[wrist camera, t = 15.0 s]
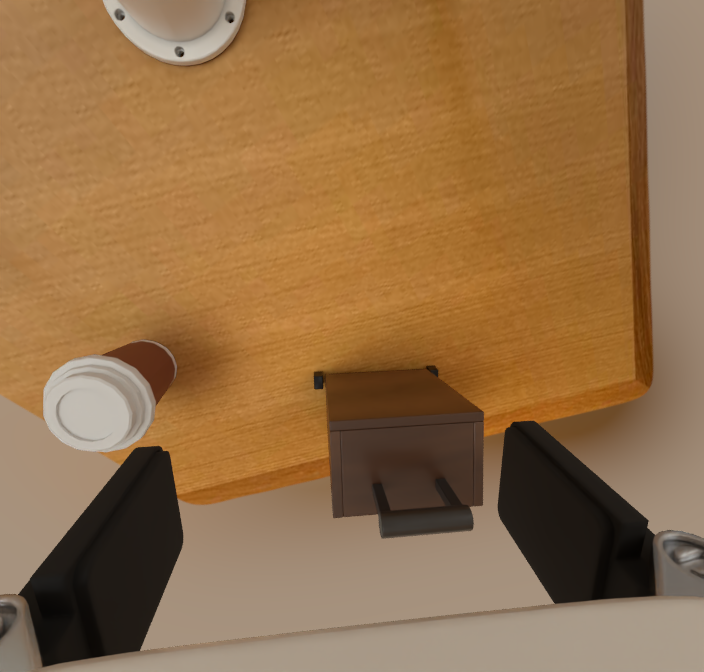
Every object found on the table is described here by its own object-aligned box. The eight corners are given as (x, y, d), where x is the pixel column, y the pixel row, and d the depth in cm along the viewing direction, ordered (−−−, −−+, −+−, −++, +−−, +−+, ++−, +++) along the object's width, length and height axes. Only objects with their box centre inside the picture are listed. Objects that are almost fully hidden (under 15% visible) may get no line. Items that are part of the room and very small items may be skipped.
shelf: (331, 451, 24) (336, 568, 25) (520, 438, 25) (517, 551, 26) (325, 374, 45) (327, 438, 46) (426, 368, 46) (427, 432, 47)
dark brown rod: (313, 371, 46) (313, 376, 44) (434, 365, 47) (438, 369, 45) (314, 384, 46) (314, 389, 45) (434, 377, 47) (437, 382, 46)
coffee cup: (95, 388, 44) (16, 444, 32) (117, 315, 42) (41, 347, 30) (175, 414, 45) (127, 476, 34) (199, 345, 44) (158, 386, 32)
